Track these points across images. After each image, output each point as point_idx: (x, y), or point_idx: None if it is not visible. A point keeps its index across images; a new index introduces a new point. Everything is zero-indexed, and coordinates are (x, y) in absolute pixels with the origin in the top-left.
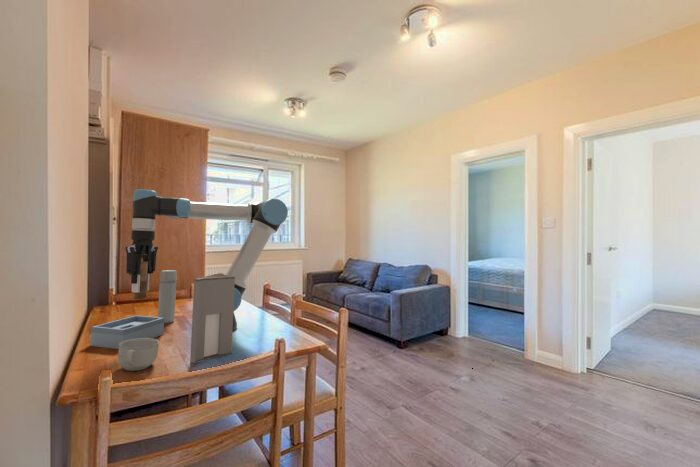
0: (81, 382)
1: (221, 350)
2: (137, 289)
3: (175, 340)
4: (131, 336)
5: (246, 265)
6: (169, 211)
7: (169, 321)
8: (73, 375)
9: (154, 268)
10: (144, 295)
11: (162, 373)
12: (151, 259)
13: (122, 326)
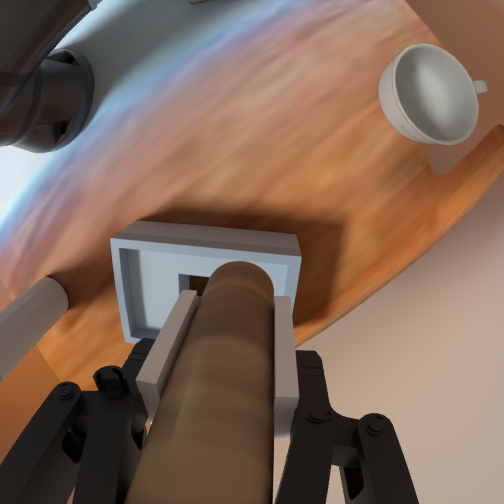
0: (480, 167)
1: None
2: (291, 312)
3: (179, 137)
4: (263, 241)
5: None
6: None
7: (54, 280)
8: (457, 209)
9: (54, 401)
10: (242, 269)
11: (422, 31)
12: (40, 500)
13: None
